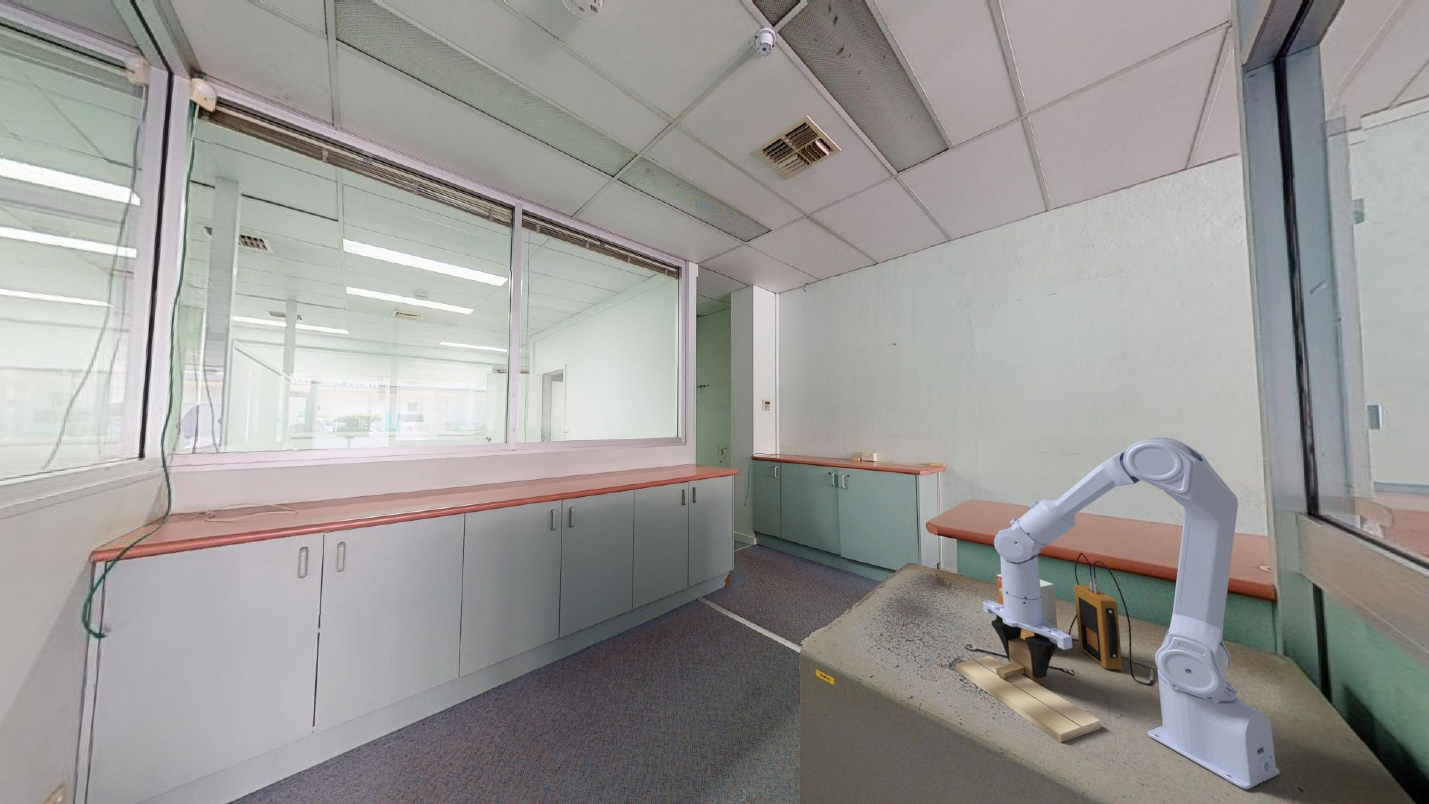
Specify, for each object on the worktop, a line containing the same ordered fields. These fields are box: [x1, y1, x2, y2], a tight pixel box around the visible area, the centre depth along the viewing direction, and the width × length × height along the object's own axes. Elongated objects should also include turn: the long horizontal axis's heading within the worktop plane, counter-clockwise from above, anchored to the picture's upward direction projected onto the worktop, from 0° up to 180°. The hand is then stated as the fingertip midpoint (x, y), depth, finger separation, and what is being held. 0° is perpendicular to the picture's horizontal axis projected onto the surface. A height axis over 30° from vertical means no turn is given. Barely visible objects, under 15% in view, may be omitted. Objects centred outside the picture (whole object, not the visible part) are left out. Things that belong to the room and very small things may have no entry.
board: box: [954, 655, 1102, 743], centre depth 68 cm, size 18×8×1 cm, turn 16°
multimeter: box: [1068, 552, 1158, 686], centre depth 77 cm, size 15×10×20 cm
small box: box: [995, 573, 1058, 640], centre depth 85 cm, size 8×6×13 cm
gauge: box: [996, 637, 1046, 686], centre depth 72 cm, size 4×8×6 cm, turn 107°
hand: (1026, 668), depth 73 cm, fingers closed on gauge, 4 cm apart
